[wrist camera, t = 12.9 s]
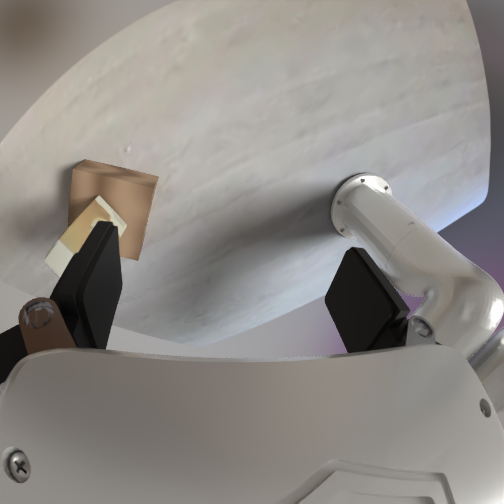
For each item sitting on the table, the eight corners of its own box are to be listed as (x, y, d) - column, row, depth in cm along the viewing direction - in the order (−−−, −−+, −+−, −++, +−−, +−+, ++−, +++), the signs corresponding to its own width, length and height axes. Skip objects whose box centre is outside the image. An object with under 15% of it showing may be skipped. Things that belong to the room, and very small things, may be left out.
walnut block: (159, 175, 37) (153, 188, 33) (143, 242, 43) (138, 260, 39) (86, 158, 33) (72, 169, 29) (78, 226, 38) (67, 242, 34)
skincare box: (128, 224, 35) (102, 280, 25) (110, 241, 36) (82, 298, 26) (97, 192, 31) (57, 238, 21) (80, 211, 32) (40, 261, 22)
